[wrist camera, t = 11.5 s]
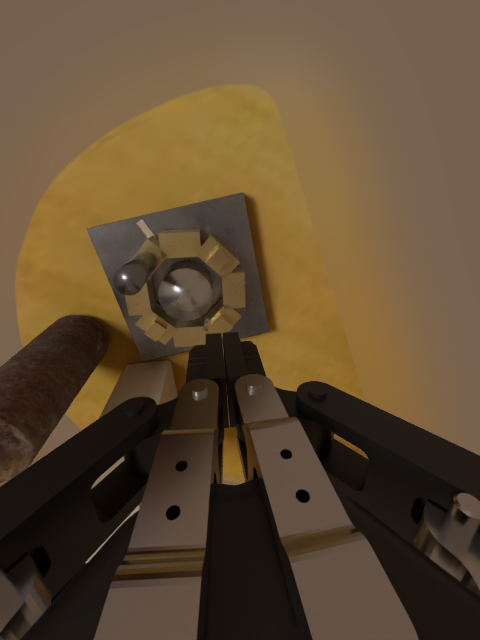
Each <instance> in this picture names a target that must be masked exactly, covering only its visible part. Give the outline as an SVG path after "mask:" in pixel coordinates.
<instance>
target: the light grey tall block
mask: <svg viewBox="0 0 480 640" xmlns="http://www.w3.org/2000/svg"><path fill="white" fill-rule="evenodd" d="M135 397H149V398H152V399H154V400H155V401H156V403H157V405H159V404H162V403H166V402H168V401H171V400H173V399H175V398H177V397H178V394H177V389H176V384H175V379H174V374H173V369H172V364H171V361H170V360H163V361H154V362H145V363H136V364H127V365H126V366H125V368H124V370H123V372H122V374H121V376H120V378H119V380H118V382H117V384H116V386H115V388H114V390H113V392H112V394H111V396H110V398H109V400H108V402H107V404H106V406H105V408H104V410H103V412H102V414H101V416H100V418H101V417H102V416H104V415H105V414H107V413H108V412H109V411H111V410H112V409H114V408H115V407H117V406H118V405H120V404H121V403H123V402H124V401H126V400H128V399H131V398H135ZM123 461H124V456H123V457H122V458H121V459H120V460H118V461H117V462H116V463H115V464H114V465H113V466H111V467H110V468H109V469H108V470H107V471H106V472H105V473H103V474H102V475H101V476H100V477H99V478H98V479H97V480H96V481H95V483H94V484H93V486H92V488H93V487H94V486H96V485H97V484H98V483H99V482H100V481H101V480H102V479H104V478H105V477H106V476H107V475H108V474H109V473H110V472H111V471H113V470H114V469H115V468H116V467H117V466H118V465H119V464H121V463H122V462H123ZM92 488H91V489H92ZM140 505H141V503H140V504H139V505H138V506H137V507H136V508H135V510H134V511H133V512H132V513H131V514H130V515H129V516H128V517H127V518H126V519H125V520H124V521H123V522H122V524H123V523H124V522H125V521H126V520H127V519H128V518H129V517H130V516H132V515H133V514H134V513H136V512H137V511H138V510H139V509H140ZM122 524H121V525H122ZM121 525H120V526H121ZM120 526H119V527H120ZM119 527H118V528H119ZM118 528H117V529H118ZM117 529H116V530H117ZM116 530H115V531H116ZM115 531H114V532H115ZM114 532H113V533H112V534H111V535H110V536H109V538H110V537H111V536H112V535H113V534H114ZM109 538H108V539H109ZM108 539H107V540H108ZM107 540H106V541H107ZM106 541H105V542H104V543H103V544H102V545H101V546H100V547H99V548H98V549H97V550H96V552H95V553H94V554H93V555H92V556H91V557H90V558H89V559H88V560H87V561H86V562H85V563H88V562H89V561H90V560H91V559H92V557H93V556H94V555H95V554H96V553H97V552H98V551H99V549H100V548H101V547H102V546H103V545H104V544H105V543H106Z"/></svg>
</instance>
